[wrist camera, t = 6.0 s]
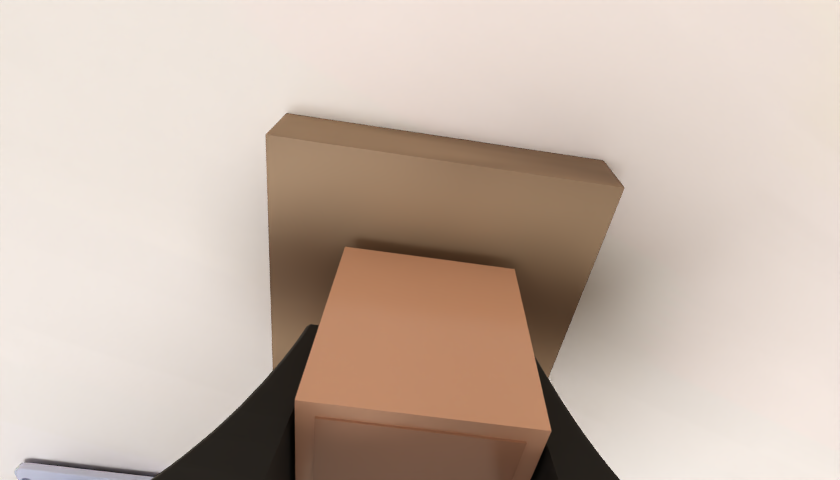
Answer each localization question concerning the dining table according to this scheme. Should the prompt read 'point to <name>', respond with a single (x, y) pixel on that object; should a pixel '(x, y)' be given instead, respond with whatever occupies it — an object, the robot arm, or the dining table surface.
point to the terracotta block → (420, 375)
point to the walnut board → (430, 216)
